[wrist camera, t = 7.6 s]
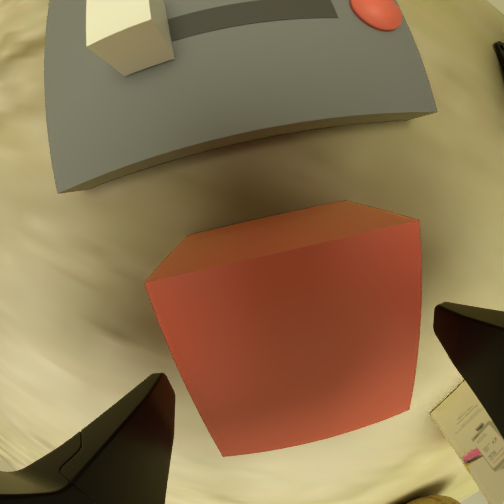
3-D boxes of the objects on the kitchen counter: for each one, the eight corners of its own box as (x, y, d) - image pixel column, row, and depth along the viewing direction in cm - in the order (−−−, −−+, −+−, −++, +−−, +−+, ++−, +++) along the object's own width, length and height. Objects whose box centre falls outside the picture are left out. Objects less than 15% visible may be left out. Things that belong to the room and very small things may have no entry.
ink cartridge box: (487, 403, 17) (556, 489, 3) (451, 437, 18) (510, 532, 4) (472, 369, 16) (571, 483, 2) (427, 413, 17) (506, 542, 2)
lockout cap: (344, 200, 12) (418, 219, 7) (359, 335, 14) (409, 409, 8) (187, 235, 13) (144, 282, 7) (227, 366, 14) (222, 456, 8)
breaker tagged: (164, 3, 8) (144, -39, 5) (174, 58, 8) (151, 19, 5) (118, 21, 8) (87, -15, 5) (124, 76, 8) (86, 46, 5)
